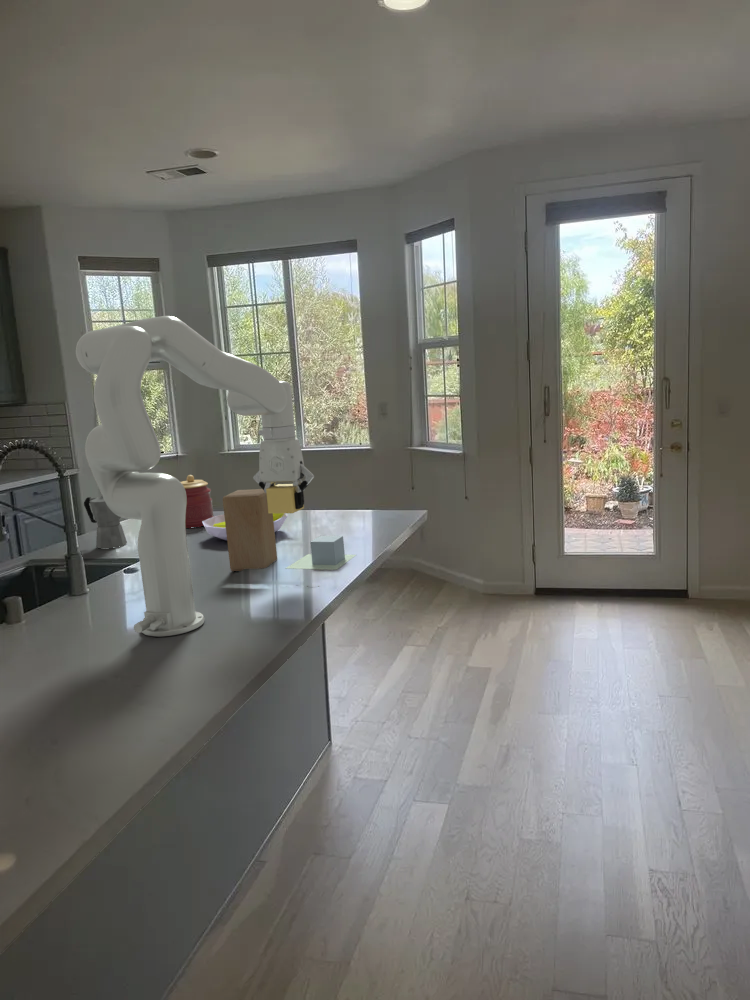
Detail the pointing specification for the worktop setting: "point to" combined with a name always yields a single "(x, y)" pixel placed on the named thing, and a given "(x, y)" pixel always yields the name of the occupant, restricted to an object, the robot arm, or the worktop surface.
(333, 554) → the slate brick
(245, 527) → the block
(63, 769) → the worktop surface
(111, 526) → the coffeepot
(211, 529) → the fruit bowl
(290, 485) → the ochre brick
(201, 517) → the canister
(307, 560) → the plate
